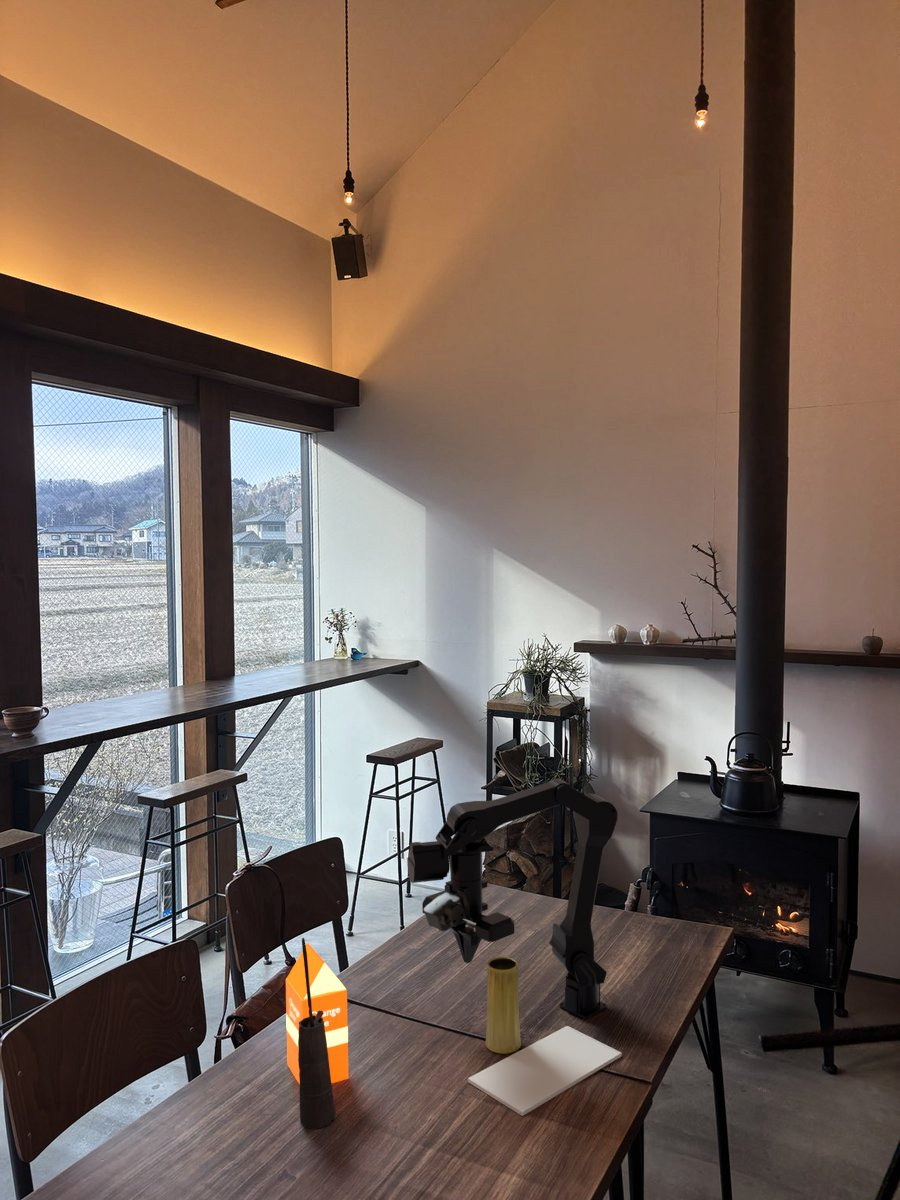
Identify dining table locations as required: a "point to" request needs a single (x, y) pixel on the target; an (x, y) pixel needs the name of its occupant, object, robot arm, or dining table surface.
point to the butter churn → (314, 1066)
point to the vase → (502, 1006)
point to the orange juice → (325, 998)
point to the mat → (544, 1069)
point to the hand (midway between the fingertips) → (467, 962)
